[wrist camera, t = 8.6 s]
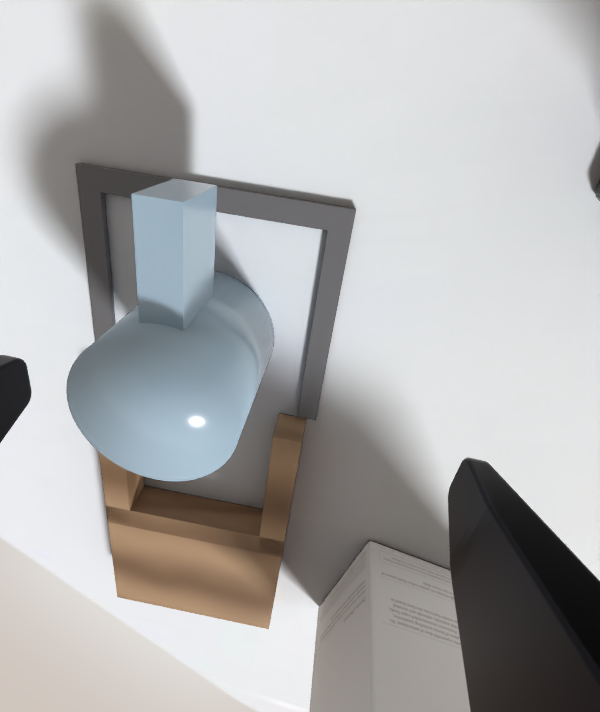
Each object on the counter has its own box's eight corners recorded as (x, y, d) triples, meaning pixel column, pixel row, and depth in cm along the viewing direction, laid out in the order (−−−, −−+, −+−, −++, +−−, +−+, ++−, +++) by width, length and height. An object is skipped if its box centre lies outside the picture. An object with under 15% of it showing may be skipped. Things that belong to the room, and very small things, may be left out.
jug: (267, 396, 24) (234, 494, 17) (150, 374, 24) (78, 464, 18) (292, 185, 18) (256, 222, 12) (140, 161, 18) (31, 185, 12)
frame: (79, 162, 19) (75, 163, 19) (355, 208, 18) (355, 209, 18) (102, 376, 24) (100, 379, 24) (316, 416, 24) (315, 420, 23)
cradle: (111, 381, 24) (92, 402, 23) (306, 418, 24) (301, 442, 22) (130, 571, 33) (117, 597, 31) (273, 601, 32) (268, 628, 31)
